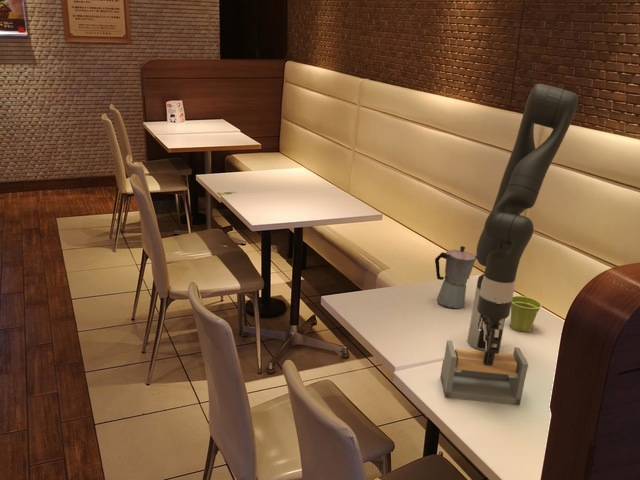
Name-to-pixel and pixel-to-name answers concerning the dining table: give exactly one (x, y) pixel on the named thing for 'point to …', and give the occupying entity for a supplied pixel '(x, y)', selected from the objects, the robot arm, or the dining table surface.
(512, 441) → the dining table surface
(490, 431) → the dining table surface
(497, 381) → the grey rack
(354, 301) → the dining table surface
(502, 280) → the robot arm
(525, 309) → the plant pot
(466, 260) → the moka pot
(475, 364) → the shelf board
